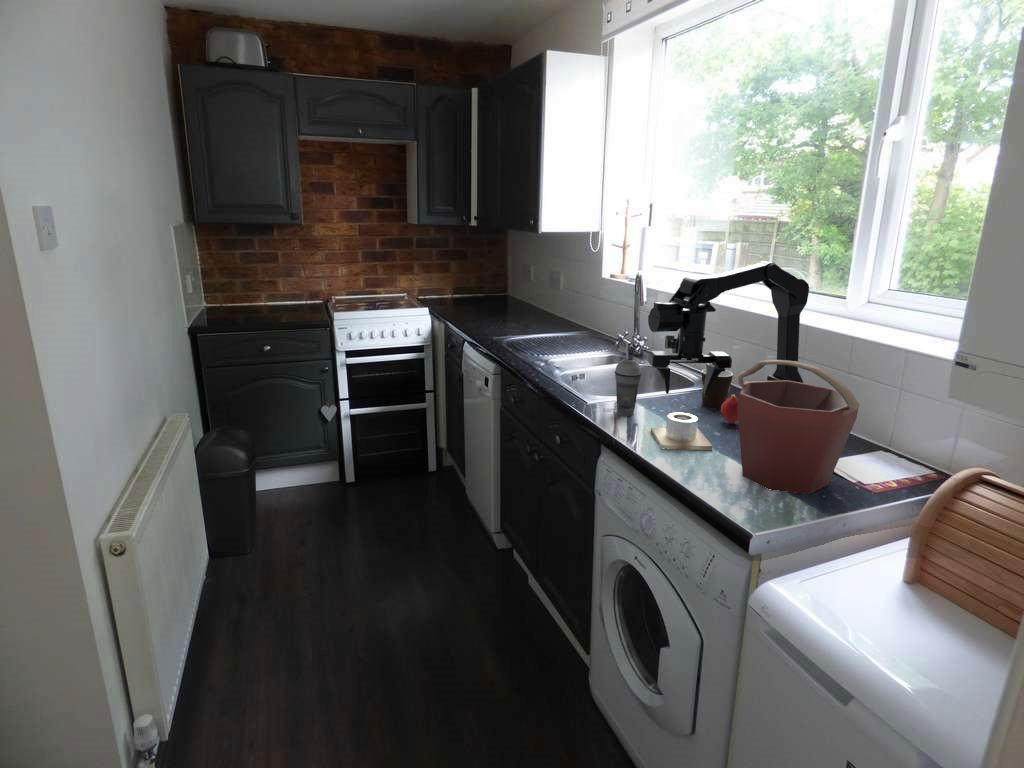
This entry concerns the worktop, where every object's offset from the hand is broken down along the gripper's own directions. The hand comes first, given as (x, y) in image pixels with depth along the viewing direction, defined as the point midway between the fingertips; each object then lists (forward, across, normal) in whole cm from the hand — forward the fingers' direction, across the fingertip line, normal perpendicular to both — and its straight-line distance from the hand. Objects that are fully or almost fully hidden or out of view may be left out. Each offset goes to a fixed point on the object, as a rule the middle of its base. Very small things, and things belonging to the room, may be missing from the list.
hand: (685, 393), depth 151 cm
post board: (+12, 0, +1) cm, 12 cm away
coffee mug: (+12, -18, -28) cm, 35 cm away
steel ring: (+11, 0, +1) cm, 11 cm away
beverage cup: (+12, +10, -19) cm, 25 cm away
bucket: (+12, -17, +21) cm, 29 cm away
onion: (+12, -16, -12) cm, 24 cm away
